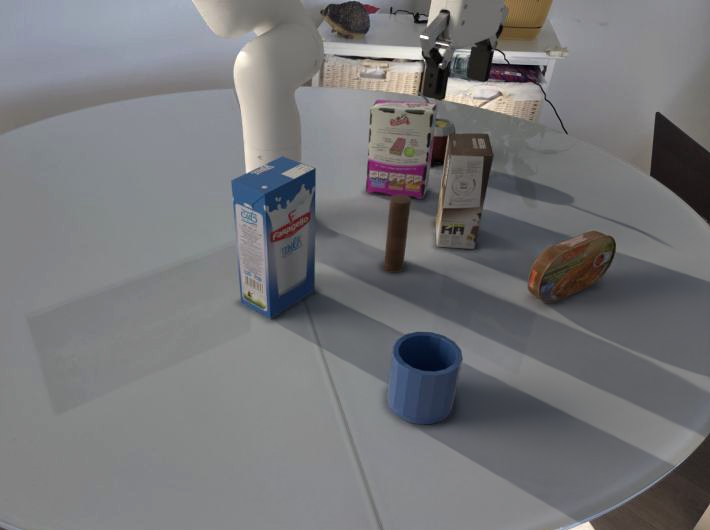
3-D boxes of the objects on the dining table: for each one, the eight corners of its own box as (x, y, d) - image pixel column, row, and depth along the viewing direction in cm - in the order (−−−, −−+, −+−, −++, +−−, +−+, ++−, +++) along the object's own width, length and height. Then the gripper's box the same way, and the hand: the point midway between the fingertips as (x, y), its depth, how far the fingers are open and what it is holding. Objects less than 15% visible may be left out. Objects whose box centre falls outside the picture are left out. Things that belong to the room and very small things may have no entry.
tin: (534, 311, 91) (548, 261, 86) (518, 300, 94) (530, 250, 88) (608, 279, 96) (626, 230, 91) (590, 270, 98) (607, 221, 93)
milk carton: (285, 275, 102) (282, 156, 89) (314, 290, 98) (316, 167, 86) (240, 303, 97) (230, 180, 84) (269, 319, 93) (264, 194, 80)
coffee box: (476, 249, 105) (494, 156, 94) (435, 247, 106) (449, 154, 96) (472, 222, 111) (489, 132, 101) (434, 220, 113) (448, 131, 102)
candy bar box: (428, 188, 122) (439, 102, 112) (423, 200, 119) (434, 112, 108) (370, 181, 126) (376, 97, 115) (364, 193, 122) (369, 107, 112)
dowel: (380, 266, 102) (386, 198, 95) (393, 260, 104) (400, 192, 96) (394, 274, 100) (401, 205, 93) (407, 267, 102) (415, 198, 94)
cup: (374, 399, 80) (378, 350, 74) (416, 371, 83) (423, 323, 78) (422, 434, 75) (430, 385, 70) (465, 404, 78) (476, 354, 73)
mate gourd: (456, 157, 132) (468, 83, 123) (443, 172, 127) (454, 96, 118) (421, 151, 136) (430, 78, 126) (407, 165, 131) (415, 91, 121)
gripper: (494, -73, 81) (469, 67, 92) (408, -53, 73) (392, 98, 84) (549, -68, 77) (516, 79, 88) (463, -46, 68) (439, 112, 80)
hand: (455, 88), depth 86 cm, fingers open, 9 cm apart
